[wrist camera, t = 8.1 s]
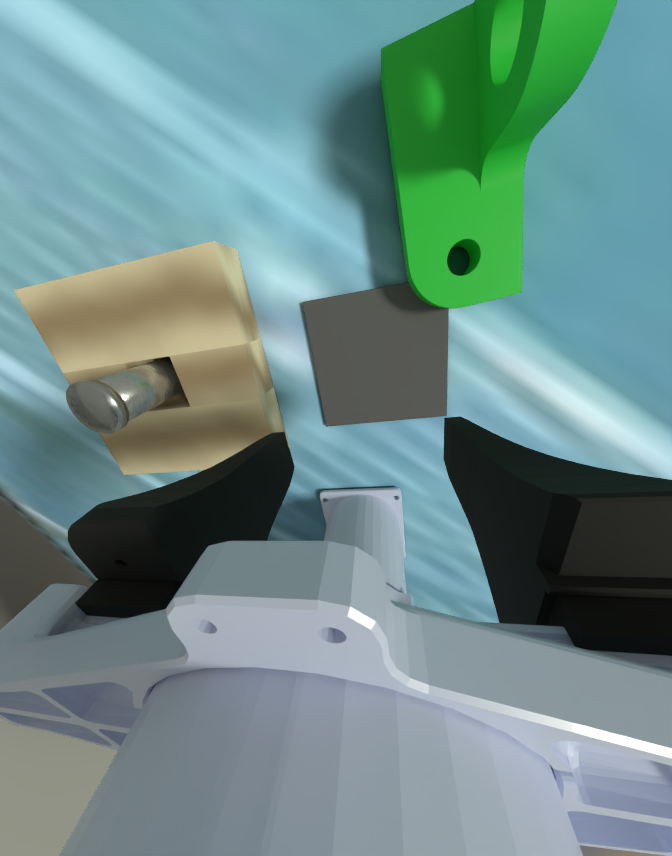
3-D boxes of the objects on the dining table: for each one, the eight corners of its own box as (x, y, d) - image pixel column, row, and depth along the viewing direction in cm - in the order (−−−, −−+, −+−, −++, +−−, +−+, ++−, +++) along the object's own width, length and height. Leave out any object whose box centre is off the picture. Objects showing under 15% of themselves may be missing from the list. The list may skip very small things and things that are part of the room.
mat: (445, 414, 22) (446, 415, 21) (327, 424, 23) (326, 426, 23) (447, 275, 17) (449, 275, 17) (303, 302, 19) (302, 302, 19)
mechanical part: (380, 81, 14) (384, -158, 7) (504, 23, 13) (674, -353, 5) (412, 318, 18) (434, 324, 11) (506, 293, 17) (601, 283, 10)
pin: (206, 386, 23) (131, 430, 16) (174, 393, 24) (90, 436, 17) (188, 348, 22) (97, 377, 15) (155, 355, 22) (54, 387, 16)
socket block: (289, 447, 25) (279, 465, 22) (148, 458, 28) (124, 474, 25) (236, 249, 18) (213, 241, 16) (58, 291, 21) (13, 290, 19)
